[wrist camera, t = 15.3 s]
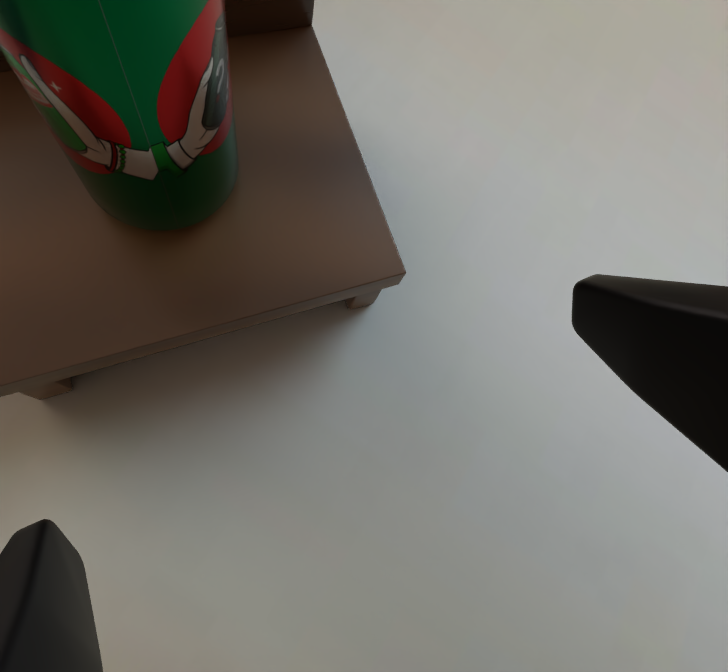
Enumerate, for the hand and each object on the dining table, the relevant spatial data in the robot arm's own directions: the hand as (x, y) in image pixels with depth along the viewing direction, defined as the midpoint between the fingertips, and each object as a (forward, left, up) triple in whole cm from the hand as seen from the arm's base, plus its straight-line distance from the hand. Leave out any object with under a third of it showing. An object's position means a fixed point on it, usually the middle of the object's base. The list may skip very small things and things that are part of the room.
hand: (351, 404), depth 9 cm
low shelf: (+11, +2, -14) cm, 17 cm away
